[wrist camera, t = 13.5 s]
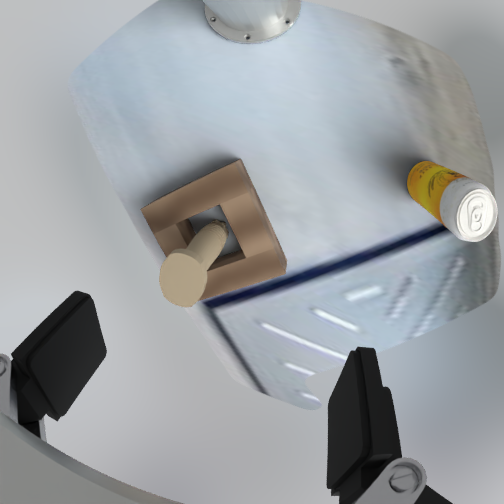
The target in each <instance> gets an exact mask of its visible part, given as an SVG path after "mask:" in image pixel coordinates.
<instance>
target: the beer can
mask: <svg viewBox="0 0 504 504" xmlns="http://www.w3.org/2000/svg"><path fill="white" fill-rule="evenodd" d="M407 187H408V191H409V194H410V195H411V197H412V198H413V199H414V200H415V201H416V202H417V203H419V204H420V205H421V206H422V207H423V208H425V209H426V210H427V211H428V212H429V213H431V214H432V215H433V216H434V217H435V218H436V219H438V220H439V221H440V222H441V223H442V224H443V225H444V226H445V227H447V228H448V229H449V230H450V231H451V232H452V233H453V234H454V235H455V236H457V237H458V238H459V239H461V240H464V241H471V242H476V241H480V240H482V239H484V238H485V237H487V236H488V235H489V234H490V232H491V231H492V229H493V228H494V225H495V223H496V219H497V204H496V201H495V199H494V197H493V196H492V194H491V192H490V190H489V189H488V188H487V187H486V186H485V185H483V184H481V183H479V182H477V181H475V180H473V179H471V178H468V177H466V176H464V175H462V174H459V173H457V172H455V171H453V170H450V169H448V168H445V167H443V166H441V165H438V164H436V163H433V162H430V161H423V162H420V163H418V164H416V165H415V166H414V167H413V168H412V169H411V171H410V173H409V175H408V179H407Z"/></svg>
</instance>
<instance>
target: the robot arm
mask: <svg viewBox="0 0 504 504" xmlns="http://www.w3.org/2000/svg"><path fill="white" fill-rule="evenodd" d="M202 1H203V2H204V3H205V15H206V18H207V21H208V23H209V24H210V26H211V27H212V28H213V29H214V30H215V31H216V32H217V33H218V34H220V35H221V36H223V37H224V38H226V39H229V40H231V41H234V42H238V43H246V44H254V43H262V42H267V41H270V40H273V39H275V38H277V37H279V36H281V35H282V34H284V33H285V32H287V31H288V30H289V29H290V28H291V27H292V26H293V25H294V23H295V22H296V20H297V18H298V16H299V13H300V9H301V0H202ZM214 20H216V21H215V22H213V21H214ZM285 22H289V24H286V23H285ZM247 37H250V39H248V40H247ZM106 353H107V350H106V346H105V343H104V339H103V335H102V332H101V328H100V324H99V320H98V316H97V313H96V308H95V304H94V301H93V299H92V298H91V296H90V295H89V294H87V293H83V292H80V291H75V292H73V293H72V294H71V295H70V296H69V297H68V298H67V299H66V300H65V301H64V302H63V303H62V304H61V305H59V307H57V308H56V309H55V310H54V311H53V312H52V313H51V314H50V315H49V316H48V317H47V318H46V319H45V320H44V321H43V322H42V323H41V324H40V325H39V326H38V327H37V328H36V329H35V330H34V331H33V332H32V333H31V334H30V335H29V336H28V337H27V338H26V339H25V340H24V341H23V342H22V343H21V344H20V345H19V346H18V347H17V348H16V349H15V350H14V352H12V353H11V355H12V357H13V360H12V361H11V360H10V359H9V357H8V356H7V355H4V354H0V504H183V503H179V502H176V501H173V500H170V499H166V498H163V497H160V496H157V495H155V494H152V493H149V492H146V491H143V490H141V489H138V488H136V487H133V486H131V485H128V484H125V483H123V482H121V481H118V480H116V479H114V478H112V477H109V476H107V475H105V474H103V473H101V472H99V471H97V470H95V469H92V468H91V467H89V466H87V465H85V464H83V463H81V462H79V461H77V460H75V459H73V458H72V457H70V456H68V455H66V454H65V453H63V452H61V451H59V450H57V449H56V448H54V447H53V446H51V445H49V444H48V443H47V441H46V434H45V425H44V415H45V414H47V415H48V416H49V417H51V418H53V419H55V420H56V421H58V420H59V418H60V417H61V416H64V415H65V414H66V413H67V411H68V409H69V408H70V407H71V405H72V404H73V402H74V401H75V399H76V398H77V396H78V395H79V394H80V392H81V391H82V389H83V388H84V386H85V385H86V384H87V382H88V381H89V379H90V378H91V376H92V375H93V374H94V372H95V371H96V369H97V368H98V367H99V365H100V364H101V362H102V361H103V360H104V358H105V356H106ZM327 462H328V463H327V488H328V489H331V496H339V504H452V503H451V502H450V501H448V500H447V499H445V498H444V497H443V496H441V495H440V494H438V493H437V492H435V491H434V490H433V489H431V488H430V487H429V486H427V485H426V479H427V476H426V472H425V469H424V468H423V466H422V465H421V464H420V463H419V462H417V461H416V460H414V459H411V458H402V454H401V446H400V439H399V433H398V427H397V421H396V415H395V410H394V405H393V399H392V394H391V391H390V389H389V388H388V387H383V385H382V380H381V375H380V370H379V366H378V361H377V356H376V351H375V349H374V348H366V347H357V348H356V350H355V351H350V353H349V356H348V358H347V361H346V363H345V366H344V368H343V370H342V372H341V375H340V377H339V379H338V381H337V384H336V386H335V388H334V390H333V392H332V395H331V397H330V399H329V403H328V460H327Z"/></svg>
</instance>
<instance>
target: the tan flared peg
mask: <svg viewBox="0 0 504 504" xmlns="http://www.w3.org/2000/svg"><path fill="white" fill-rule="evenodd" d="M228 234H229V231H228V230H227V228H226V223H225V222H220V221H218V220H213V221H212V223H210V224H208V225H206V226H205V227H203V228H202V229H201V230H200V231H199V232H198V233H197V234H196V235H195V237H194V238H193V240H192V241H191V243H190V244H189V245H188V247H187V248H186V249H176V250H173V251H172V253H171V254H170V255H169V256H168V257H167V258H166V260H165V261H164V262H163V264H162V266H161V269H160V277H159V282H160V286H161V290H162V292H163V295H164V297H165V298H166V299H167V300H168V301H170V302H171V303H173V304H175V305H178V306H181V307H192V306H193V305H194V304H195V303H196V302H197V301H198V300H199V298H200V297H201V296H202V294H203V292H204V290H205V287H206V283H207V270H208V268H209V267H210V266H211V264H212V263H213V262H214V260H215V259H216V258H217V257H218V255H219V254H220V252H221V250H222V249H223V247H224V244H225V242H226V238H227V237H228Z"/></svg>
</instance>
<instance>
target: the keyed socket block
mask: <svg viewBox="0 0 504 504" xmlns="http://www.w3.org/2000/svg"><path fill="white" fill-rule="evenodd" d="M219 204H220V206H221V208H222V210H223V212H224V214H225V216H226V218H227V220H228V222H229V224H230V226H231V228H232V230H233V232H234V234H235V236H236V238H237V240H238V242H239V244H240V246H241V248H242V249H241V250H238V251H236V252H233V253H230V254H227V255H225V256H222V257H219V258H216V259H215V260H214V262H213V263H212V264H211V266H210V267H209V268H208V270H207V283H206V287H205V290H204V292H203V294H202V296H201V297H200V298H199V300H203V299H206V298H209V297H213V296H216V295H219V294H223V293H226V292H229V291H233V290H236V289H239V288H242V287H246V286H249V285H252V284H255V283H258V282H262V281H265V280H268V279H271V278H274V277H277V276H281V275H284V274H285V273H286V265H287V259H286V257H285V255H284V253H283V250H282V248H281V246H280V243H279V241H278V239H277V237H276V234H275V232H274V230H273V228H272V225H271V223H270V221H269V219H268V217H267V214H266V212H265V210H264V208H263V206H262V203H261V201H260V199H259V197H258V195H257V192H256V190H255V188H254V186H253V184H252V182H251V179H250V177H249V175H248V173H247V171H246V169H245V166H244V164H243V162H242V160H241V159H239V160H237V161H235V162H233V163H230V164H228V165H226V166H224V167H222V168H219V169H217V170H215V171H213V172H211V173H209V174H207V175H205V176H203V177H200V178H198V179H196V180H194V181H192V182H190V183H188V184H186V185H184V186H182V187H180V188H178V189H176V190H174V191H172V192H170V193H168V194H166V195H164V196H163V197H161V198H159V199H157V200H155V201H153V202H151V203H150V204H148V205H147V206H145V207H143V208H142V209H141V211H142V213H143V215H144V217H145V219H146V221H147V223H148V225H149V226H150V228H151V230H152V232H153V234H154V236H155V238H156V239H157V241H158V243H159V245H160V247H161V248H162V250H163V252H164V254H165V256H166V257H168V256H169V255H170V254H171V253H172V251H173V250H176V249H186V248H187V247H188V245H189V244H190V243H191V241H192V240H193V238H194V237H195V235H196V233H195V231H194V229H193V227H192V225H191V223H190V221H189V220H188V218H190V217H192V216H194V215H196V214H199V213H201V212H203V211H205V210H208V209H210V208H212V207H215V206H217V205H219ZM199 300H198V301H199Z"/></svg>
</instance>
